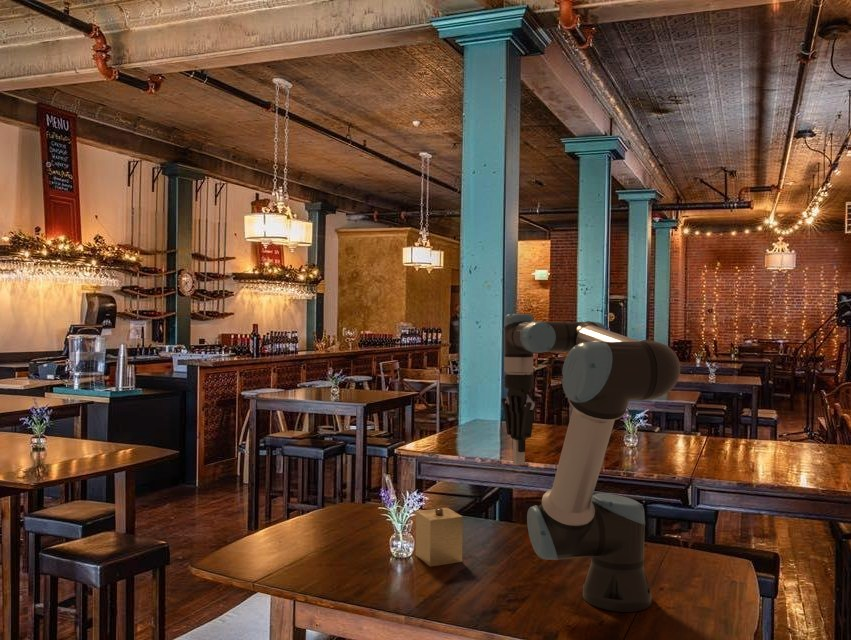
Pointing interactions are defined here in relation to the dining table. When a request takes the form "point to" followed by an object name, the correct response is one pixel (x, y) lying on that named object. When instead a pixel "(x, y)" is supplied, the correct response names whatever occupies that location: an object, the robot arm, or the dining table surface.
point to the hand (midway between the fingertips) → (518, 464)
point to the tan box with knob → (439, 536)
